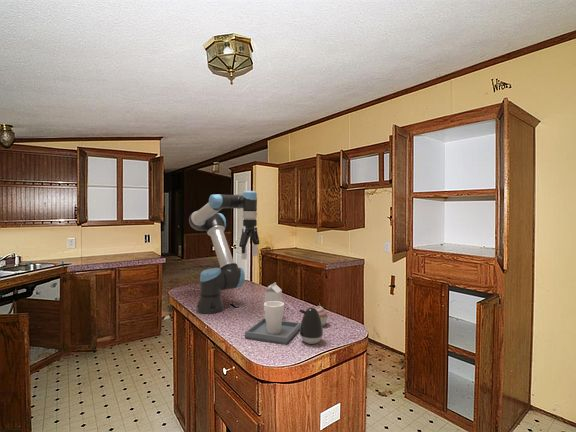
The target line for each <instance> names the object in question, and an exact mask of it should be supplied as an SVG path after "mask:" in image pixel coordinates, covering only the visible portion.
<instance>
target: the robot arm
mask: <svg viewBox="0 0 576 432" xmlns="http://www.w3.org/2000/svg"><path fill="white" fill-rule="evenodd" d="M257 195H258V194H257V191H255V190H245V191H243V193H242V194H241V195H240V194H237V195H236V194H219V193H218V194H210V196H209V198H208V202H207V203H206V204H204V206H202V207H201V208H200V209H198V210H196V211H194V212H192V213H191V214H190V215H189V218H188V222H189V225H190V227H191V228H192V229H194V230H195V231H201V232H205V231H206V233H207V235H208V236H210V239H211V241H212V245H213V249H214V251H215V255H216V257H217V261H218V265H219V267H212V268H207V269H204V270H202V271H201V272H200V276H199V299H198V302H197V305H196V306H197V307H196V311H197V313H199V314H204V315H205V314H206V315H207V314H208V315H210V314H217V313H220V312H223V311H224V308H225V306H224V302H223V299H222V295H221V294H222V291H225V290H231V289H239V288H241V287H242V286H243V285H244V283H245V277H246V276H245V271H244V269H243V268H242V267H239V265H238V263H236V262H234V258H233V255H232V252H231V250H230V247H229V243H228V241H227V239H226V235H225V233H224V232H225V230H226V227H227V223H226V222H227V220H226V217H225V216H224V214H223V213H220V211H221V210H223V209H236V210H237V209H242V218H243V220H242V226H243V227H245V228H241V234H240V235H241V236H240V240H239V247H240V248H241V252H240V253H241V257H240V258H241V260H247V259H248V258H247V257H248V249H247V248H248V247H247V244H248V242H249V238H250V239H251V241H252V243H253V244H252V256H253V257H258V245H260V238H259V233H258V227H257V224H258V223H257V221H258V220H257V216H258V212H257V210H258V203H257V202H258V196H257Z"/></svg>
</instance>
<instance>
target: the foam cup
mask: <svg viewBox="0 0 576 432" xmlns="http://www.w3.org/2000/svg"><path fill="white" fill-rule="evenodd" d="M263 309H264V318H266V326H267V332H268V333H271V334H277V333H280V332H281V325H282V321H283V317H284V311H285V303H284V302H283V301H282V302H279V301H269V302H266V303H265V302H264V303H263Z"/></svg>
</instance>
